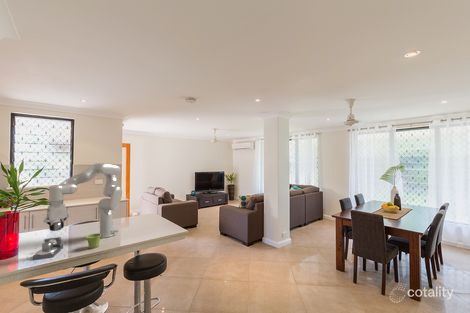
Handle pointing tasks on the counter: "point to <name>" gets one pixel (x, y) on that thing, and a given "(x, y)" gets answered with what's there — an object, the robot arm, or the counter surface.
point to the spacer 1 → (46, 246)
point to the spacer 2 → (57, 226)
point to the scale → (55, 249)
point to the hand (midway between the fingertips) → (56, 229)
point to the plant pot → (93, 240)
